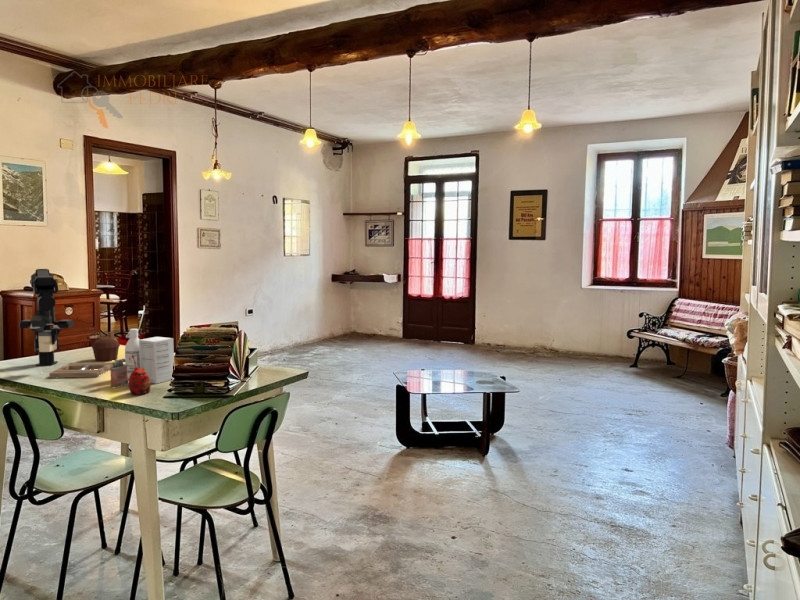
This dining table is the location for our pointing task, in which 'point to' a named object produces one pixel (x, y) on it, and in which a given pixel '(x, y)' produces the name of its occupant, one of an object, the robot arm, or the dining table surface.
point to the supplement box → (157, 358)
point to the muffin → (105, 349)
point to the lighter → (119, 373)
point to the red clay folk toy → (139, 380)
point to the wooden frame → (81, 370)
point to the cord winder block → (46, 341)
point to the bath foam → (132, 348)
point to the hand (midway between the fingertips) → (47, 344)
